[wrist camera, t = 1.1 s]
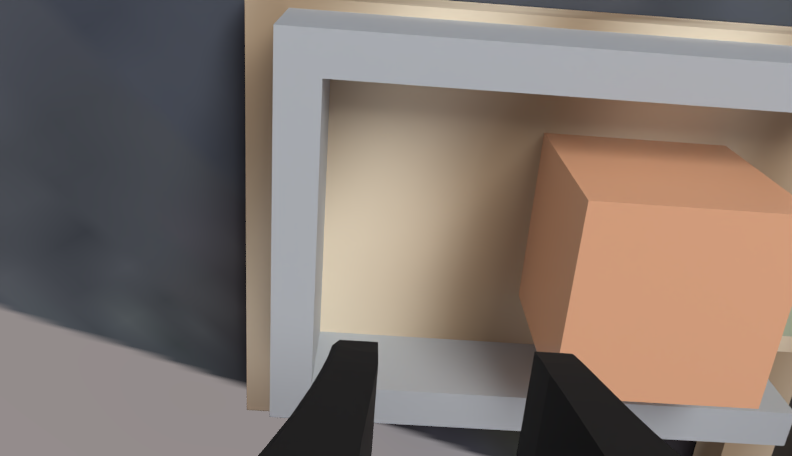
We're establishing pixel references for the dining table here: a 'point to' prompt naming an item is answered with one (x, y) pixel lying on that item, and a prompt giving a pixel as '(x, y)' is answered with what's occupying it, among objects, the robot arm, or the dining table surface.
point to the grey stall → (492, 71)
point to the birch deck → (462, 184)
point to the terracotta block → (659, 267)
